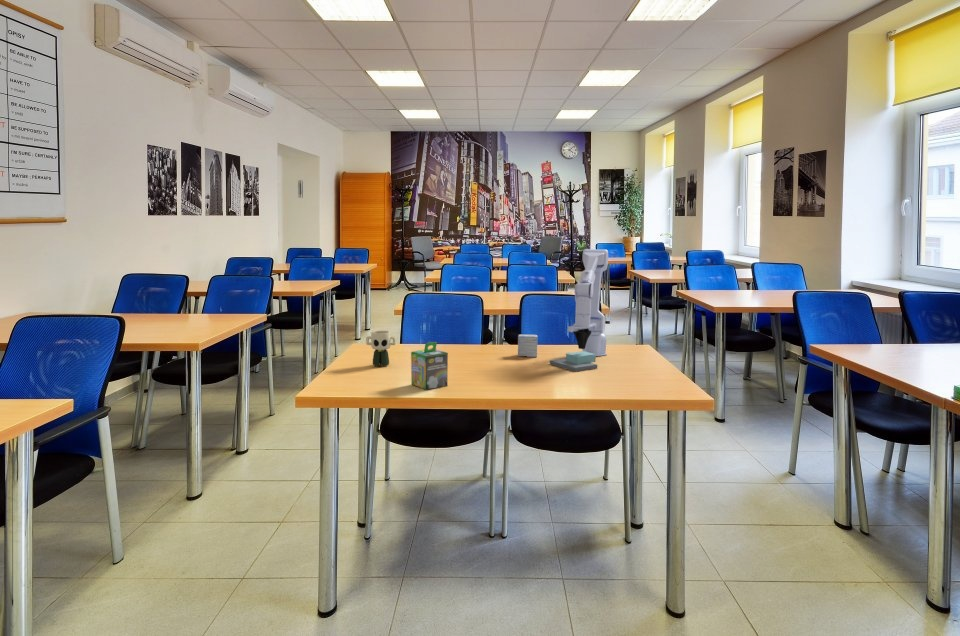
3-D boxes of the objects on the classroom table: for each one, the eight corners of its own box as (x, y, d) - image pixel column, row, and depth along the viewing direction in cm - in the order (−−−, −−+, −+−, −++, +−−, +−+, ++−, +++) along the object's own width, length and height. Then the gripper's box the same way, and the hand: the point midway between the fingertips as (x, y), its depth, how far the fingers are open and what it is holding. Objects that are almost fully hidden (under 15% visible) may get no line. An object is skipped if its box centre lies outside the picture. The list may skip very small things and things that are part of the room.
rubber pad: (571, 361, 255) (571, 357, 255) (597, 368, 242) (597, 364, 242) (549, 363, 249) (549, 360, 249) (575, 371, 237) (575, 367, 236)
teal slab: (583, 351, 252) (566, 353, 248) (595, 354, 247) (578, 356, 242) (583, 358, 253) (565, 360, 248) (595, 361, 247) (577, 364, 242)
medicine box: (537, 355, 265) (537, 334, 264) (536, 357, 261) (537, 336, 260) (518, 354, 266) (518, 334, 265) (517, 356, 262) (518, 336, 260)
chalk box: (432, 380, 220) (432, 338, 218) (448, 386, 213) (448, 342, 211) (410, 384, 214) (410, 341, 212) (425, 390, 207) (425, 345, 205)
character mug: (365, 367, 238) (365, 333, 236) (367, 363, 245) (367, 330, 243) (394, 367, 238) (394, 333, 237) (396, 363, 245) (395, 330, 244)
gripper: (587, 311, 253) (586, 344, 255) (562, 314, 243) (561, 349, 245) (601, 313, 247) (600, 347, 249) (576, 316, 238) (575, 352, 240)
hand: (581, 348), depth 247 cm, fingers closed
